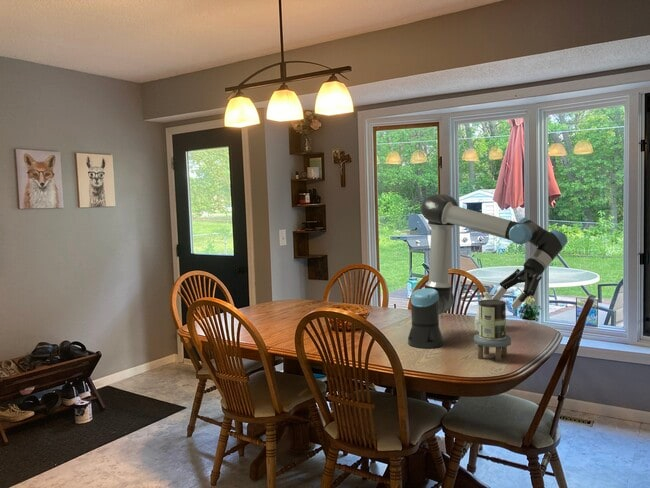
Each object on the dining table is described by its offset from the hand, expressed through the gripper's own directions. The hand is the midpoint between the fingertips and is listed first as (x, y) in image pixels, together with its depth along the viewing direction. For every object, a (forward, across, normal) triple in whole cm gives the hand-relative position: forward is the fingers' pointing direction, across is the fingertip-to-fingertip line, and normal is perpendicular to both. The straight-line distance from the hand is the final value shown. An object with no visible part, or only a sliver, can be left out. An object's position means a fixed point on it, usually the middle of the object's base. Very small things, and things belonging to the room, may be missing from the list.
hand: (503, 304), depth 207 cm
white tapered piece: (+3, +41, -28) cm, 49 cm away
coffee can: (+12, +1, -6) cm, 14 cm away
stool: (+18, +1, -12) cm, 22 cm away
